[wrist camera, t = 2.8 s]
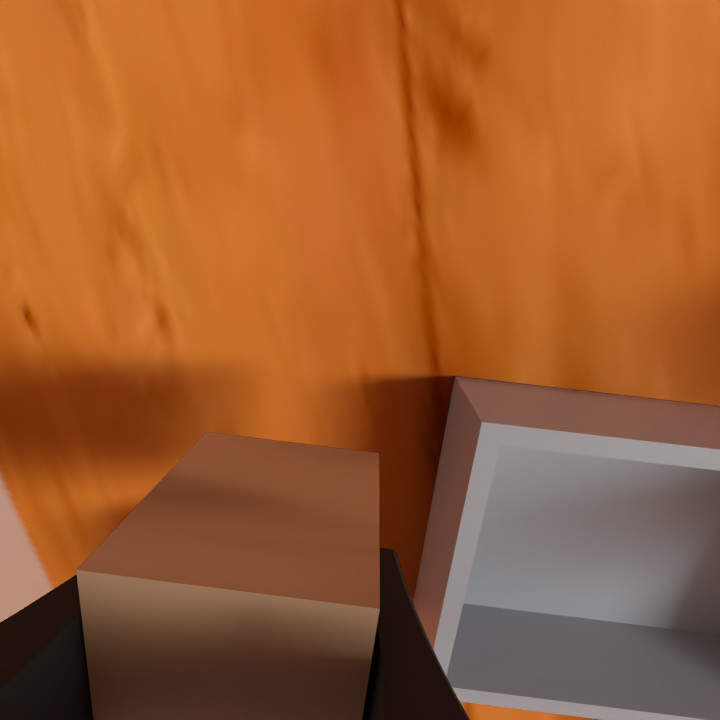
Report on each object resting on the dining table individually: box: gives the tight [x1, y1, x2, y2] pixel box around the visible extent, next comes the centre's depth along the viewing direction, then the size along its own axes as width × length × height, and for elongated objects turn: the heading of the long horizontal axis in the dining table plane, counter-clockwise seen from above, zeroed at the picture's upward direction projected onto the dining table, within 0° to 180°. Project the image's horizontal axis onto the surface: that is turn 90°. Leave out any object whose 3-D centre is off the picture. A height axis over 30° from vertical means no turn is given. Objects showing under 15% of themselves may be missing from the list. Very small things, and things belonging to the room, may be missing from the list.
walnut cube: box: [76, 432, 380, 720], centre depth 9 cm, size 5×5×5 cm
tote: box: [414, 376, 720, 720], centre depth 18 cm, size 14×18×5 cm
